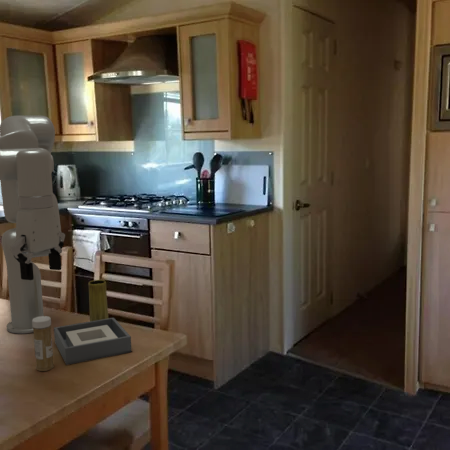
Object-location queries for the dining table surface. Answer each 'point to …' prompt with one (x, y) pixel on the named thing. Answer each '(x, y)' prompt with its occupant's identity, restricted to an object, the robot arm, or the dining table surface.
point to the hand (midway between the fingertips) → (41, 274)
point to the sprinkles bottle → (43, 343)
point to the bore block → (89, 335)
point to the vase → (98, 300)
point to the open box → (95, 348)
